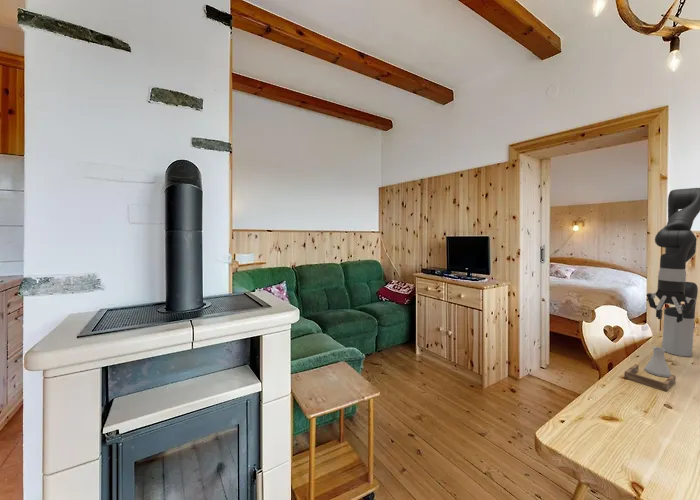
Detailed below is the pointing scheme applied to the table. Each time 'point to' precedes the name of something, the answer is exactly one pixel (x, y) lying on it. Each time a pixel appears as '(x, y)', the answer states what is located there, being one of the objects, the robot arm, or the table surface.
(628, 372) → the corral
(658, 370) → the flask
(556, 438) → the table surface
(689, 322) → the robot arm
